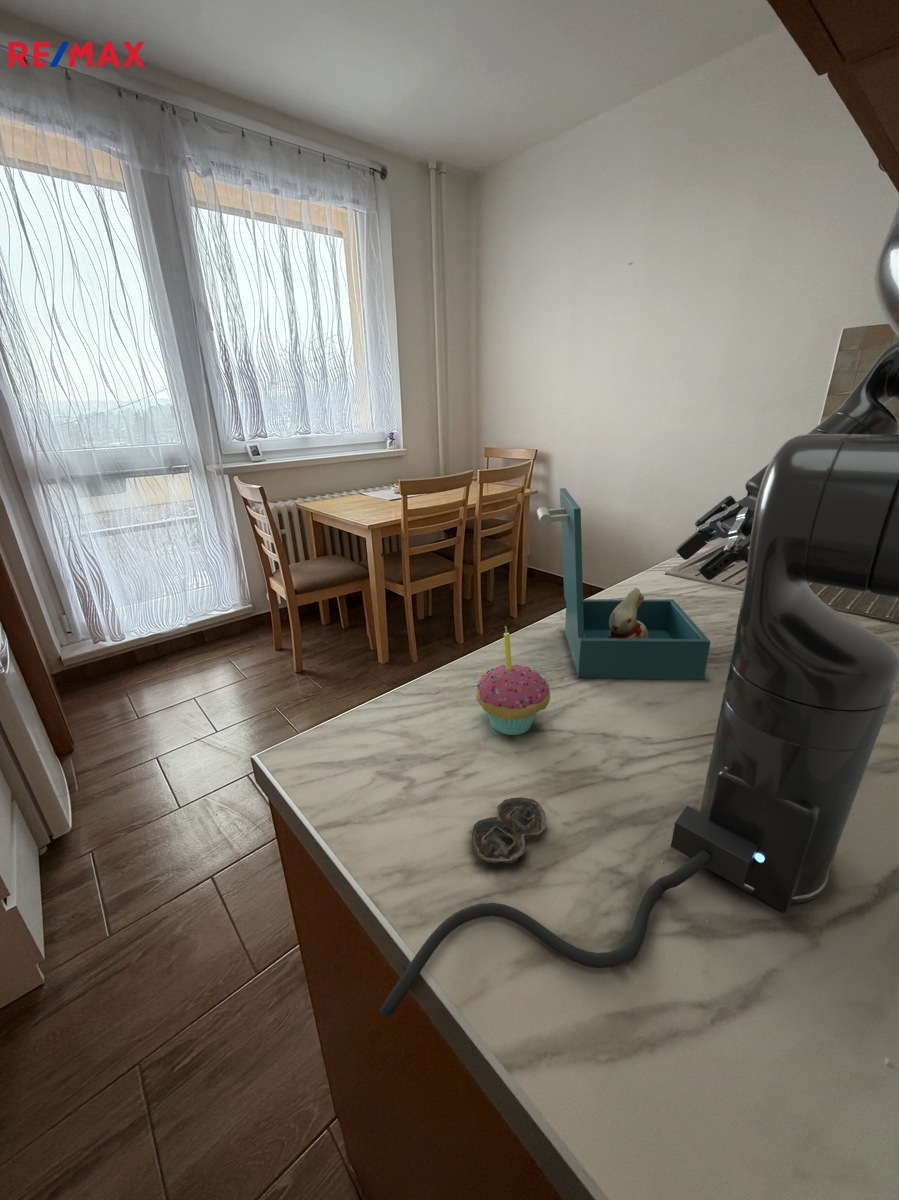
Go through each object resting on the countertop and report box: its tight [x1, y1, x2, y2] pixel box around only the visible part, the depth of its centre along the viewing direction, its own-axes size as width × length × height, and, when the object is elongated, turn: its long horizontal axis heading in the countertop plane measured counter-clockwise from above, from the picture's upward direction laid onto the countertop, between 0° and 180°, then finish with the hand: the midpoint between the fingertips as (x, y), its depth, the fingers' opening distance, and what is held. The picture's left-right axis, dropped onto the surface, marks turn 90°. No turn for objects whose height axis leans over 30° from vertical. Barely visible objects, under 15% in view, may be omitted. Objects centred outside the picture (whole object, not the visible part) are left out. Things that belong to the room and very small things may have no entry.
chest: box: [564, 598, 711, 681], centre depth 71 cm, size 17×15×6 cm
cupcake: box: [475, 625, 551, 736], centre depth 56 cm, size 9×8×12 cm
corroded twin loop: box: [471, 796, 547, 864], centre depth 43 cm, size 5×8×1 cm, turn 135°
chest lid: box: [536, 487, 584, 638], centre depth 68 cm, size 17×15×5 cm
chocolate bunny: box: [608, 587, 649, 639], centre depth 70 cm, size 6×8×10 cm
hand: (690, 564), depth 67 cm, fingers open, 8 cm apart
